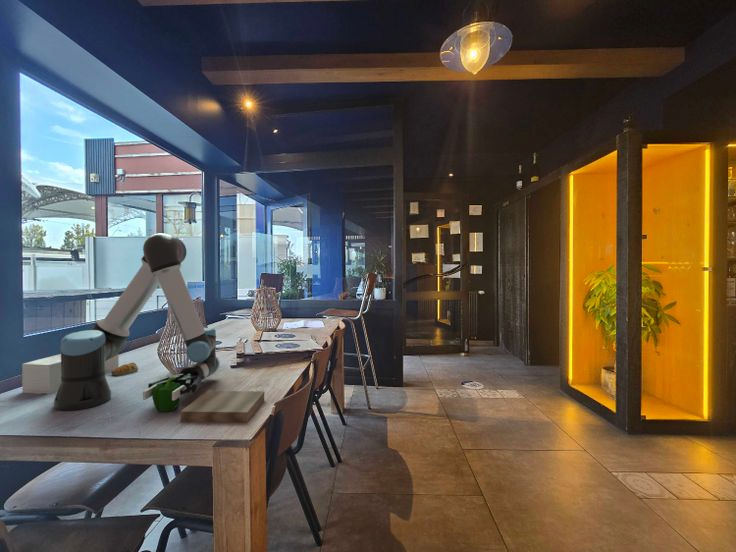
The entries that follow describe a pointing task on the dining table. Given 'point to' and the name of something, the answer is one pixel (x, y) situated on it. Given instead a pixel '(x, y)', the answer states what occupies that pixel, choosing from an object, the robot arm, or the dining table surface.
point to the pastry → (125, 369)
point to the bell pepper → (165, 396)
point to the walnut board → (223, 406)
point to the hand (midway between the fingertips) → (158, 395)
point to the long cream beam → (50, 374)
